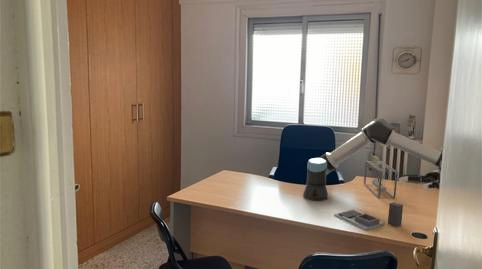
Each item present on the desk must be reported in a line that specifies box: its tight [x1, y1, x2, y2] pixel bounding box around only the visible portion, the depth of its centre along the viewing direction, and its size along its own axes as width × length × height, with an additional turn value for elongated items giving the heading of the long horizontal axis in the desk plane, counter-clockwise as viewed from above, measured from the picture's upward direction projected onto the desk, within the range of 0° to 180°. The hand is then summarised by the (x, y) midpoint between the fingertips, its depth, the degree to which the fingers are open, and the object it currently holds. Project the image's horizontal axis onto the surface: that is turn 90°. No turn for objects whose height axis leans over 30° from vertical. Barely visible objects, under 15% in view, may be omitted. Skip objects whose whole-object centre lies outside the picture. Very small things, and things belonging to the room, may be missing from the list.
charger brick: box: [387, 201, 404, 228], centre depth 188 cm, size 5×4×11 cm
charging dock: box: [333, 209, 385, 231], centre depth 193 cm, size 21×14×4 cm, turn 32°
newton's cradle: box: [363, 160, 398, 199], centre depth 241 cm, size 30×10×18 cm, turn 179°
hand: (411, 183), depth 191 cm, fingers open, 13 cm apart
